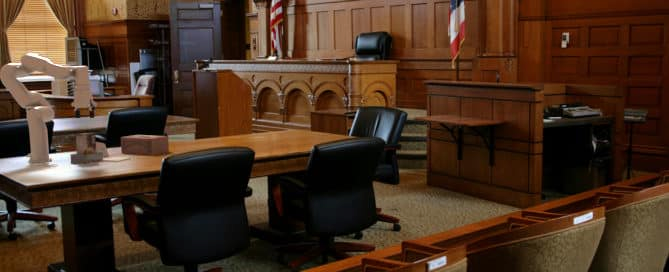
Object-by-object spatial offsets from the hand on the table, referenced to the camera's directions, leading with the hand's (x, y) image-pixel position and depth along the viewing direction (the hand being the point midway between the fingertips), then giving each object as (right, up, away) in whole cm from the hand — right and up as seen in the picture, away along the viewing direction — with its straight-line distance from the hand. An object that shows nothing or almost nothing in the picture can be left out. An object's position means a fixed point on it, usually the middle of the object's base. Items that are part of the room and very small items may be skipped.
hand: (85, 117), depth 399 cm
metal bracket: (0, -25, +3) cm, 25 cm away
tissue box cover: (+24, -21, +39) cm, 50 cm away
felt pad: (+15, -24, +8) cm, 29 cm away
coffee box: (0, -25, +3) cm, 25 cm away
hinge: (-3, -23, +22) cm, 32 cm away
